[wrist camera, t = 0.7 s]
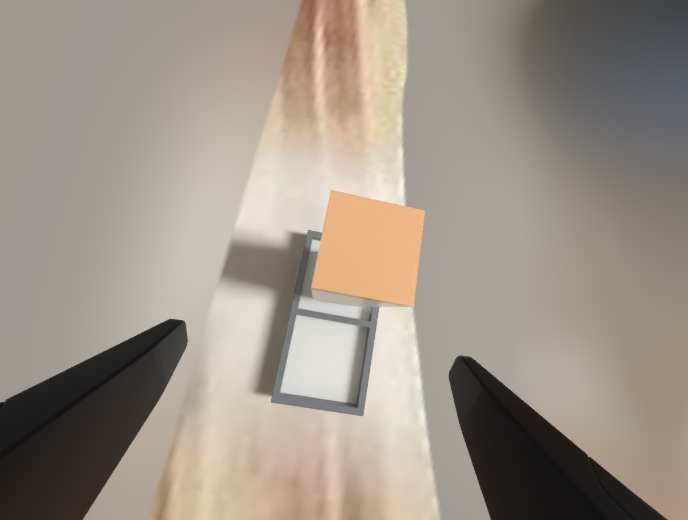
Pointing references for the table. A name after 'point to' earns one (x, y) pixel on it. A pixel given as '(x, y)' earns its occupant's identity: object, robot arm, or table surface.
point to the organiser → (324, 347)
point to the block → (368, 253)
